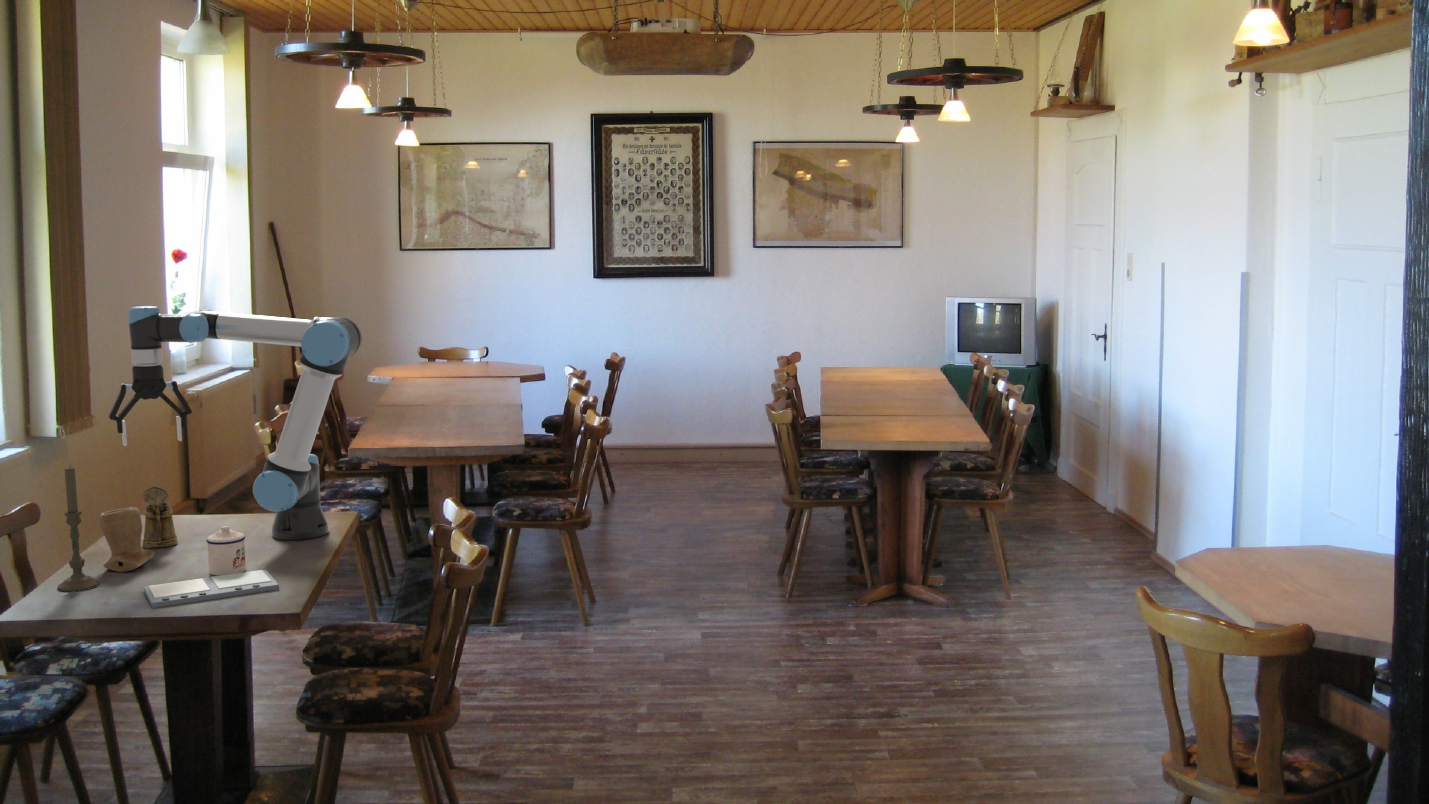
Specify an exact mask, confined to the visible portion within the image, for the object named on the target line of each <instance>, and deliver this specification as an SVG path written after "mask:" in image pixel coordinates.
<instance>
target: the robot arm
mask: <svg viewBox="0 0 1429 804" xmlns="http://www.w3.org/2000/svg"><path fill="white" fill-rule="evenodd" d="M128 326H129V327H128V328H129V339H130V353H131V355H130V356H131V364H132V365H133V366H132V367H131V372H132V383H131V384H126V383H120V385H119V393H118V395H117V397H116V399H115V401H114V403H113V405H112V408H111V410H110V412H109V414H108V418H109V420H111V421H115V422H116V431H117V434H122V435H121V436H122V437H121V438H122V439H121V440H122V446H123V447H126V446H128V441H127V440H128V439H127V426H126V425H127V424H126V421H125V420H124V418H126V416H127V415H128V414H129V412H131V410H132V409H133V407H134V406H135V405H136V404H137V402H138V401H140V400H141V399H142V400H147V401H148V400H150V399H152V400H157V399H158V398H161V399H162V400H163V401H164V402H165V403H166V404H167V405H168V406H169V407H171V409H173V410H174V412H175V413H177V414H178V416H175V419H176V434H177V435H176V436H177V441H179V442H182V441H183V434H182V432H183V431H182V429H185V428H186V416H187V415H191V414H192V413H193V411H192V409H191V407H190V405H188V402H187V401H186V400H185V398H184V396H183V395H182V393H181V391H180V390H179V387H178V383H177V381H176V380H173V379H172V380H171V381H166V382H165V377H164V365H163V364H162V363H163V360H164V359H163V349H162V348H163V347H162V346H163V345H162V343H190V344H193V343H202V342H205V341H206V339H211V340H225V341H226V340H227V341H235V342H239V341H240V342H247V343H256V344H257V343H260V344H270V345H281V346H291V347H300V348H301V351H302V352H301V355H300V358H299V364H300V367H301V368H302V370H301V371H302V372H301V374H300V377H299V380H298V383H297V386H296V389H295V392H294V395H293V398H292V401H291V403H290V406H289V410H288V412H287V416H286V419H285V421H284V425H283V428H282V431H281V434H280V437H279V440H278V442H277V446H276V448H275V451H274V452H271V453H269V454H268V455H267V458H266V461H265V463H264V466H263V470H262V472H261V473H260V474H259V475H258V476H257V477H256V478H255V480H254V482H253V485H252V494H253V496H254V499H255V500H256V502H257V504H258V505H260V507H261V508H263V509H265V511H266V510H267V511H270V512H273V513H275V516H274V520H273V523H272V527H271V535H272V538H274V539H277V540H284V541H285V540H286V541H299V540H309V539H314V538H319V537H322V536H325V535H327V534H328V533H329V523H328V521H327V518H326V516H325V513H324V511H323V508H322V506H321V486H320V485H321V484H320V483H321V482H320V464H319V457H318V456H317V455H316V454H313V453H311V452H312V449H313V445H314V442H315V438H316V435H317V433H318V431H319V427H320V424H321V422H322V418H323V416H324V413H325V410H326V407H327V404H328V401H329V397H330V394H331V392H332V389H333V386H334V383H335V380H336V379H338V378H340V377H341V376H343V374H344V371H345V369H346V366H347V363H348V360H349V359H350V358H351V357H352V356H354V355H355V354H356V353H357V352H358V351H359V350H360V347H361V344H362V338H363V337H362V332H361V329H360V327H359V326H358V324H357V323H356V322H355V321H353V320H351V319H350V318H347V317H344V316H333V317H328V316H327V317H324V316H323V317H322V316H315V317H314V318H312V319H303V318H302V319H301V318H292V317H282V316H281V317H280V316H270V315H257V314H246V313H245V314H244V313H236V312H235V313H234V312H224V311H223V312H220V311H214V310H212V309H199V310H197V311H190V312H185V313H167V314H165V313H161V311H160V308H159V307H158V306H152V305H145V306H143V305H141V306H133V307H130V308H129V310H128ZM166 387H168V388H169V390H172V392H173V394H174V395H175V397H176V398H177V399H178V402H179V403H180V404H181V406H182V407H183V410H182V409H181V408H180V407H179V406H178V405H177V404H175V403H174V401H172V400H171V398H169V397H168V396H167V395H166V394H165V393H164V391H165V389H166ZM130 390H132V391H133V392H134V395H133V396H132V397H131V398H130V400H129V401H128V402H127V404H126V405H125V406H124V407H123V409H122V410H121V411H120V412H119V410H120V407H121V405H122V403H123V401H124V399H125V396H126V393H128V392H130ZM118 412H119V413H118ZM117 413H118V414H117ZM326 533H327V534H326Z"/></svg>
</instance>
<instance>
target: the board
mask: <svg viewBox="0 0 1429 804" xmlns="http://www.w3.org/2000/svg"><path fill="white" fill-rule="evenodd" d="M278 590H280V584H279V582H278V581H276V579H275V578H274V577H273V576H272V575H271V574H270V573H269V572H268V571H267V570H266V569H257V570H252V571H251V570H250V571H246V572H245V571H243V572H241V573H236V574H229V575H222V576H216V575H214V576H209V577H203V578H195V579H189V580H188V579H187V580H181V581H173V582H166V583H159V584H151V585H146V586H143V592H144V595H145V596H146V598H147V600H148V602H149V605H150V606H151V608H153V609H157V608H162V607H171V606H176V605H182V604H189V603H196V602H197V603H198V602H204V601H209V600H216V599H222V598H228V597H229V598H230V597H235V596H243V595H244V596H245V595H249V594H256V593H257V594H258V593H262V592H270V591H278Z"/></svg>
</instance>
